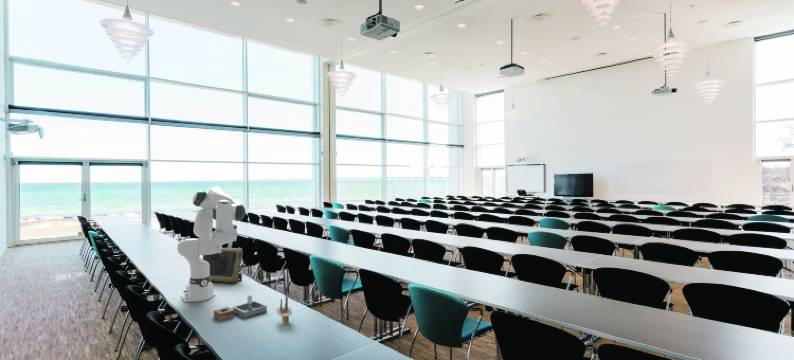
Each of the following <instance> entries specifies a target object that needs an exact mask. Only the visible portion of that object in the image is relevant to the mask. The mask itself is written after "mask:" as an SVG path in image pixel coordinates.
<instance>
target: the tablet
mask: <svg viewBox="0 0 794 360" xmlns="http://www.w3.org/2000/svg"><path fill="white" fill-rule="evenodd" d="M221 250H222V253H216V254H211V255H202V258H201V259H202V260H205V261H207V262H208V263H209V265H210V276H211V281H210V282H215V283H216V282H217V283H218V282H219V283H228V284H237V283H238V282H239V280H240V281H243V273H241V272H240V266H241V264H242V259H243V254H244V253H243V252H244V251H243V248H241V247H237V248H235V247H231V250H227V247H222V248H221Z"/></svg>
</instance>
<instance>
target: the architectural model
mask: <svg viewBox="0 0 794 360" xmlns="http://www.w3.org/2000/svg"><path fill="white" fill-rule="evenodd" d="M288 302H289V297H288V295H286V296H285V303H284V307H283V298H282V299H280V304H279V307H278V308H276V314H277V315H278V316H279V317H281V320H282V327H287V326H290V325H289V323H290V321H289V319H290V316H292V315H293V311H292V308H291V307H289V303H288Z"/></svg>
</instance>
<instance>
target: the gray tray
mask: <svg viewBox="0 0 794 360" xmlns="http://www.w3.org/2000/svg"><path fill="white" fill-rule="evenodd" d="M232 309H234V310H235V316H238V317H240V318H242V319H243V320H244V319H245V320H246V319H249V318H251V317H252V318H253V317H255V316H258V315H262V314H265V313H267V312H268V310H267V309H268V306H267V305H266V304H263V303H261V302H258V301H256V300H252V310H249V311H248V302H245V303H241V304H237V305H234V306H232Z"/></svg>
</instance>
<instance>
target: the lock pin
mask: <svg viewBox="0 0 794 360" xmlns="http://www.w3.org/2000/svg"><path fill="white" fill-rule="evenodd" d="M252 301H253V295H252V294H250V295H247V303H248V311H249V310H252Z"/></svg>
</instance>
